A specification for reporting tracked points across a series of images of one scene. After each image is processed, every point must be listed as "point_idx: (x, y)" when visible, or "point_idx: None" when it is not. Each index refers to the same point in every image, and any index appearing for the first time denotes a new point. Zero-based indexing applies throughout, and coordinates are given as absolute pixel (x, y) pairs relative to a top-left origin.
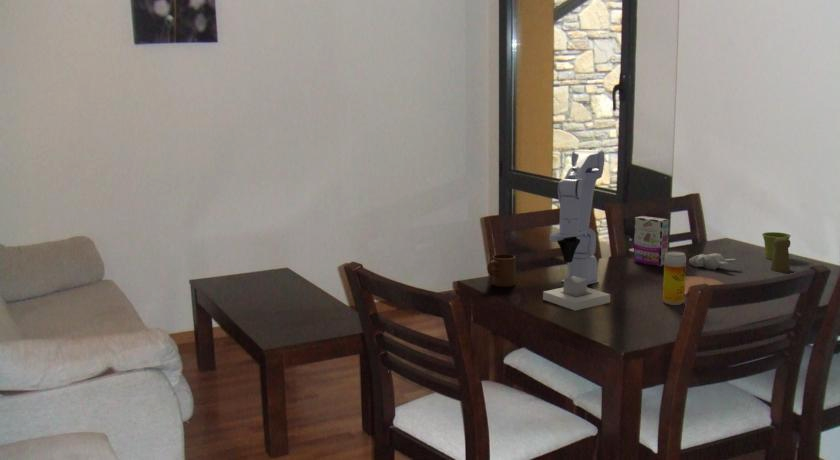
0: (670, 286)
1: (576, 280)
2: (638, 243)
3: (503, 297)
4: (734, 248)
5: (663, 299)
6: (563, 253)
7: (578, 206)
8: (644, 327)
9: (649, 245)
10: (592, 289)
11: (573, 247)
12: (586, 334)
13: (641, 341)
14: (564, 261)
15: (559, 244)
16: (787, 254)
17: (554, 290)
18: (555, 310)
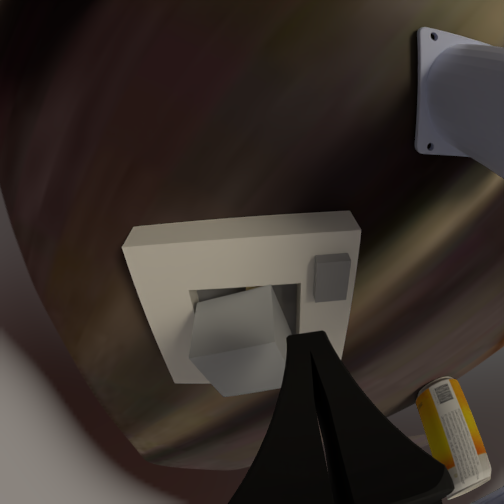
0: (426, 434)
1: (239, 381)
2: None
3: (6, 125)
4: None
5: (423, 393)
6: (285, 397)
7: None
8: (249, 448)
9: None
10: (343, 318)
11: (330, 484)
12: (128, 431)
13: (197, 463)
14: (286, 340)
15: (244, 484)
16: None
17: (181, 258)
18: (123, 335)
